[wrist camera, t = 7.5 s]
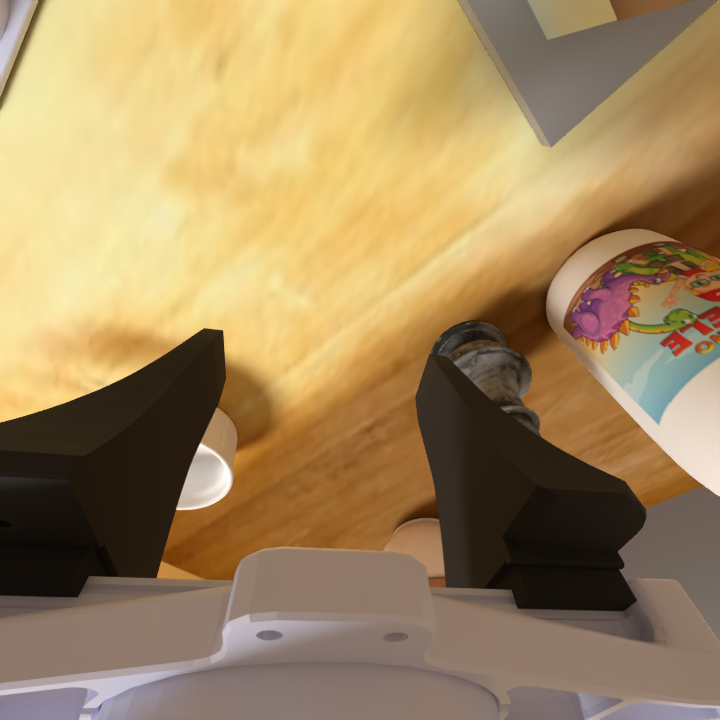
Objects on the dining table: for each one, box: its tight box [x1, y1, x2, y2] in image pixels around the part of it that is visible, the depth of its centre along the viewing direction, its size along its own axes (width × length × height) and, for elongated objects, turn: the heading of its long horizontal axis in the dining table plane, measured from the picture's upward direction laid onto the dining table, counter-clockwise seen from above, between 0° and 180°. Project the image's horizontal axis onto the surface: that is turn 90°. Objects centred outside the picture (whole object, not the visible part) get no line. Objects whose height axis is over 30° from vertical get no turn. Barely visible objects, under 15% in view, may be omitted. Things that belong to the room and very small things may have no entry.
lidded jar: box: [383, 518, 446, 588], centre depth 36 cm, size 11×11×9 cm
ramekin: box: [176, 408, 237, 510], centre depth 27 cm, size 9×9×4 cm
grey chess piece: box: [431, 321, 542, 438], centre depth 21 cm, size 6×6×12 cm
